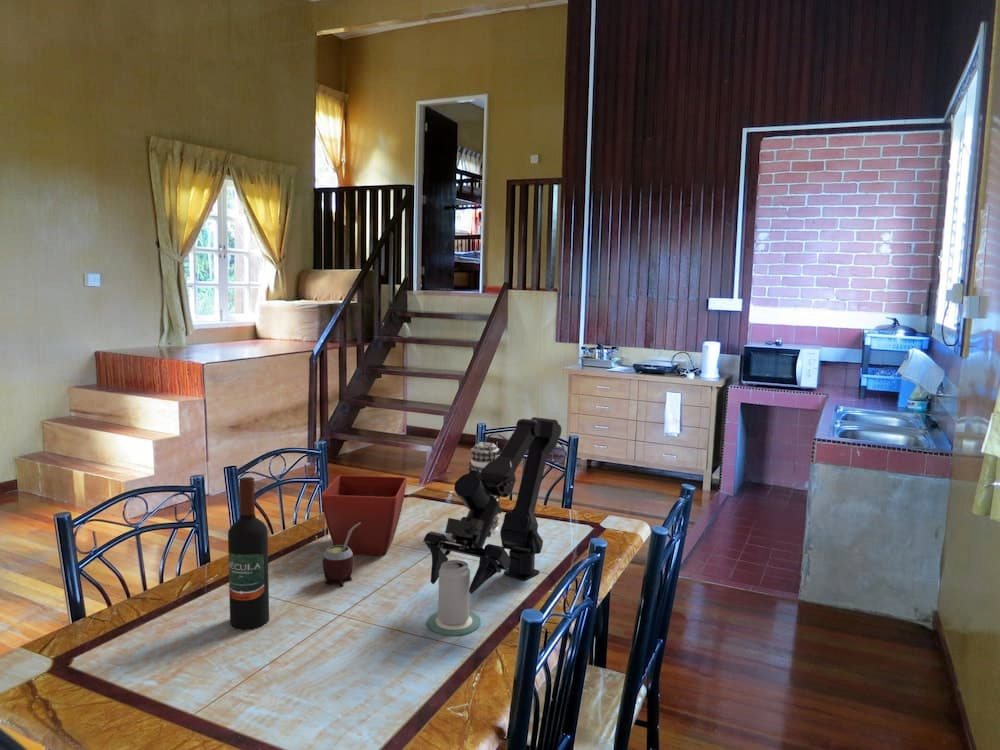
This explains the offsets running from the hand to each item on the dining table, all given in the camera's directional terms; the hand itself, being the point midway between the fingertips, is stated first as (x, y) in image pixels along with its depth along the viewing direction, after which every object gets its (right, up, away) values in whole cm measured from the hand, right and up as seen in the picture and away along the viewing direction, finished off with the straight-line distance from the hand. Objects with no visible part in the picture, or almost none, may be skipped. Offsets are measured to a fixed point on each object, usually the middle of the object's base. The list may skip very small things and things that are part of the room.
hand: (450, 588), depth 146 cm
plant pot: (-26, -2, +44) cm, 51 cm away
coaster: (+1, -8, +2) cm, 8 cm away
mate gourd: (-27, -5, +22) cm, 35 cm away
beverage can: (0, -8, +2) cm, 8 cm away
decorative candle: (+5, -1, +61) cm, 61 cm away
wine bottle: (-41, -7, +1) cm, 42 cm away
